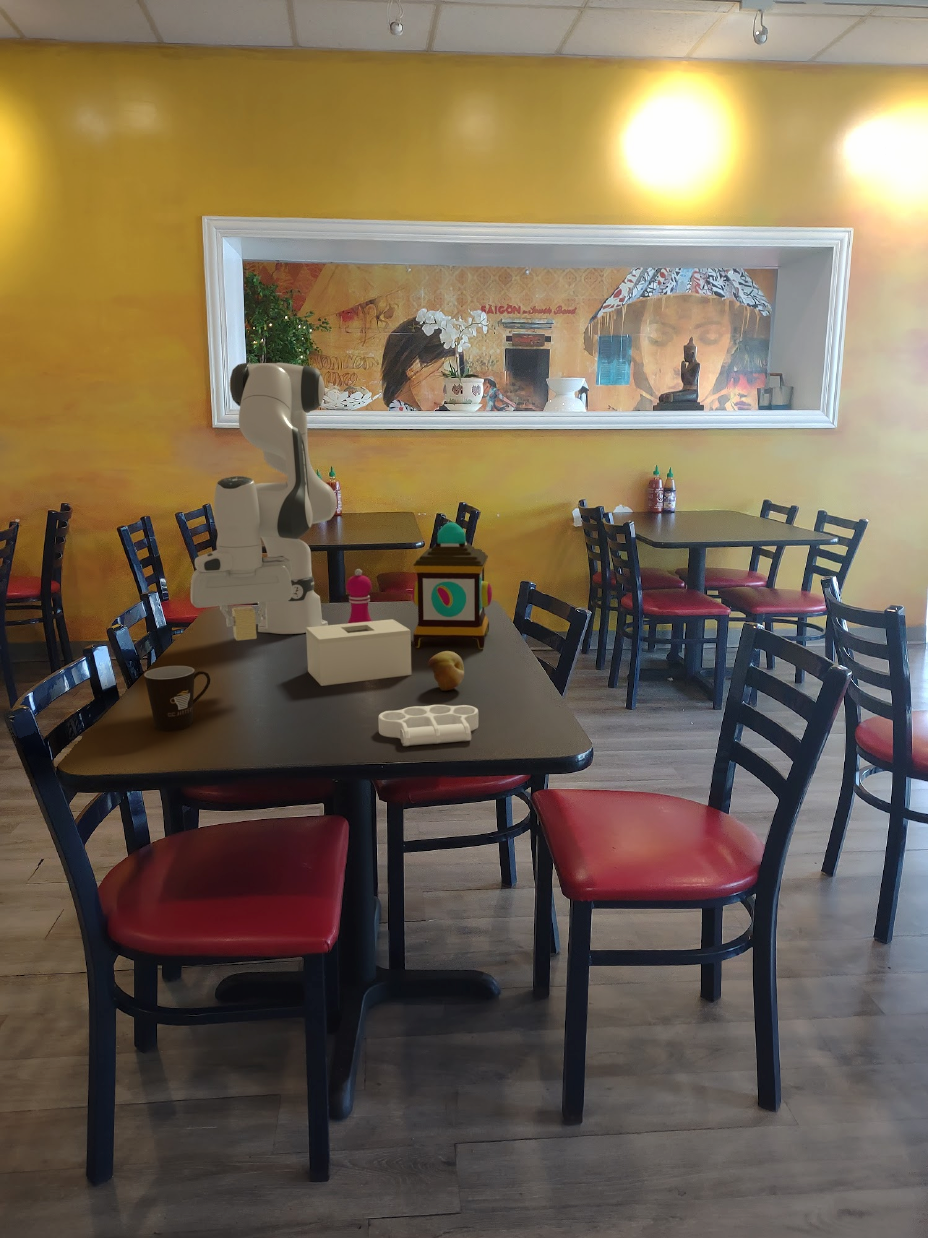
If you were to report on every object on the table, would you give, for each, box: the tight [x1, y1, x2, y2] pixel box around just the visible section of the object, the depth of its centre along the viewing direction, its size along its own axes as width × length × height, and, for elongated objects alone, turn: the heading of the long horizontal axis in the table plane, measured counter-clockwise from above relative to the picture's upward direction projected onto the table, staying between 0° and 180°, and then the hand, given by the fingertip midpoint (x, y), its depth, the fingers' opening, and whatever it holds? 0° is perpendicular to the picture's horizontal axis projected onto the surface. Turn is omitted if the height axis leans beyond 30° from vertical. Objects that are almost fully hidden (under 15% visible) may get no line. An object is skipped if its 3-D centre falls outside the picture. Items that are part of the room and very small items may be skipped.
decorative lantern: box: [411, 521, 493, 650], centre depth 214 cm, size 20×20×30 cm
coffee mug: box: [143, 665, 211, 732], centre depth 156 cm, size 12×9×10 cm
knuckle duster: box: [377, 704, 479, 747], centre depth 152 cm, size 3×18×15 cm
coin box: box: [305, 618, 412, 687], centre depth 188 cm, size 12×20×10 cm, turn 113°
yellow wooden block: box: [231, 605, 257, 641], centre depth 177 cm, size 4×4×6 cm
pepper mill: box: [345, 568, 373, 624], centre depth 206 cm, size 7×7×20 cm
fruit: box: [427, 650, 465, 691], centre depth 176 cm, size 8×8×8 cm
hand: (244, 624), depth 177 cm, fingers closed on yellow wooden block, 4 cm apart
